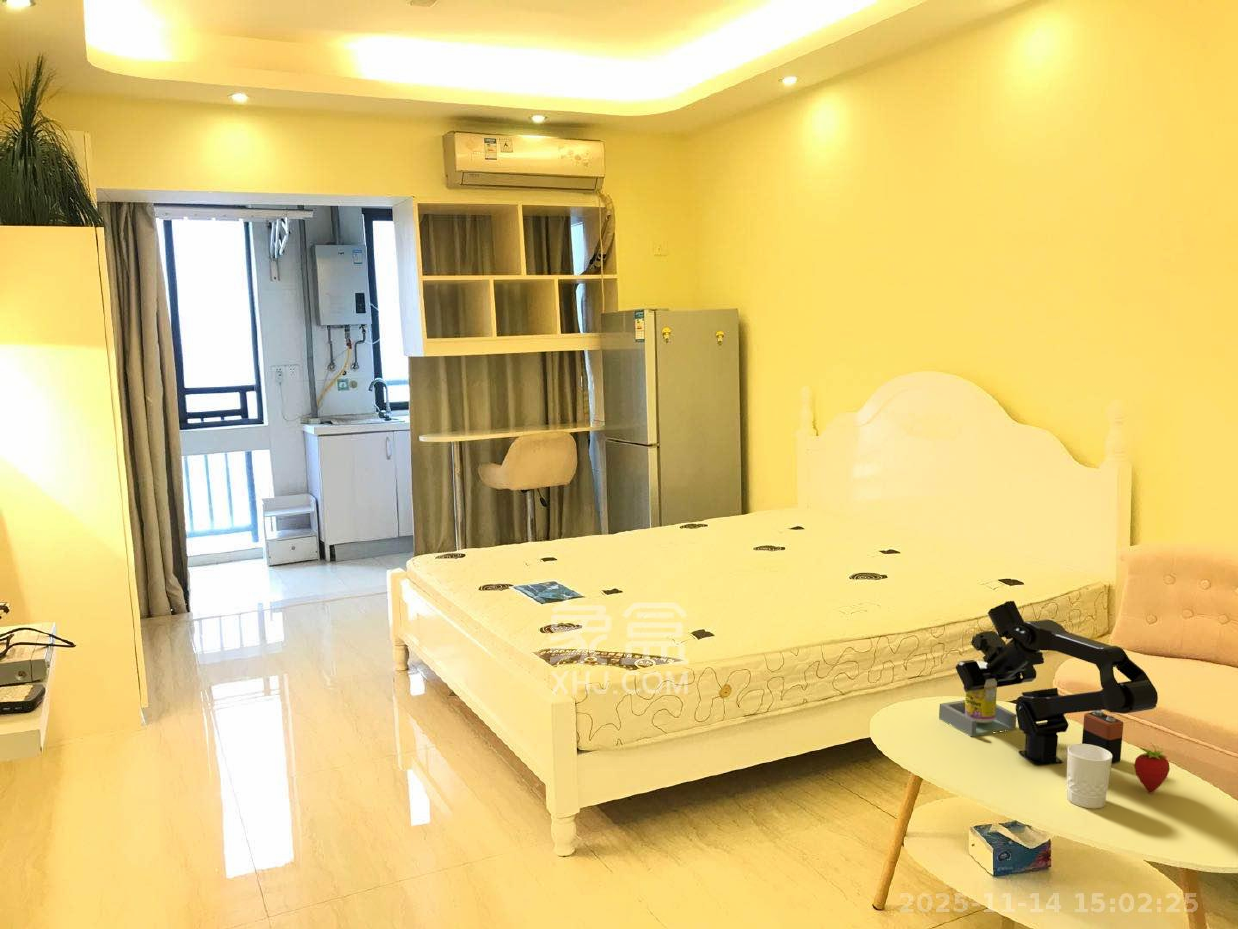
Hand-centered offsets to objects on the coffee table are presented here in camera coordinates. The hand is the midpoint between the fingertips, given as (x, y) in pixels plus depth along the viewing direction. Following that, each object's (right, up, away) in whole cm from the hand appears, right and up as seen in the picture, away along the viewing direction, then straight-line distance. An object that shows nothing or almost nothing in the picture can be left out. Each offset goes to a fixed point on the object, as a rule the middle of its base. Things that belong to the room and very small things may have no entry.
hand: (977, 688), depth 235 cm
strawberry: (+23, -14, -33) cm, 42 cm away
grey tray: (0, -8, 0) cm, 8 cm away
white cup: (+8, -14, -37) cm, 40 cm away
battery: (+20, -11, -17) cm, 29 cm away
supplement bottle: (+1, -7, 0) cm, 7 cm away
